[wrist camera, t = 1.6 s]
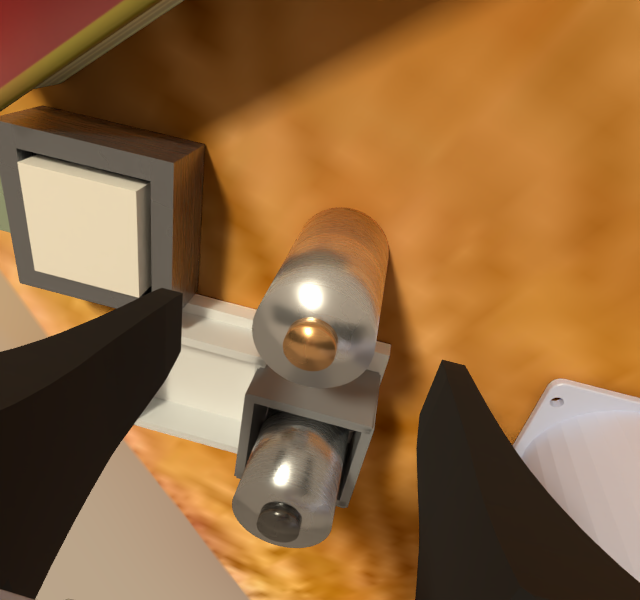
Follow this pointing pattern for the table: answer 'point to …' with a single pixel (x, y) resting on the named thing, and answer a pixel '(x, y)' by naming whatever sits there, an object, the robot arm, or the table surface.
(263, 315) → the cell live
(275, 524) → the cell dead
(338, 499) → the battery holder
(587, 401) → the robot arm
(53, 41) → the hardcover book
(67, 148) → the cradle
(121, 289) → the pad
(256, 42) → the table surface
